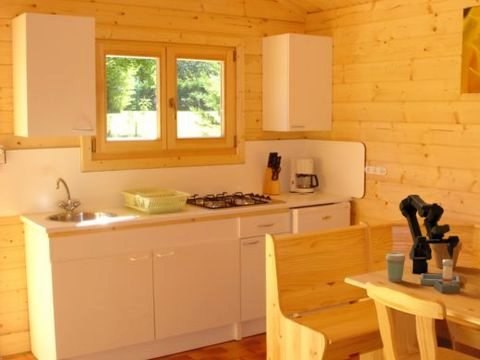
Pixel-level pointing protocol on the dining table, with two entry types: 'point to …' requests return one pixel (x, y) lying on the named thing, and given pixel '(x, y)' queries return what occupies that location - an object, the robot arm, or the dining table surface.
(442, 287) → the clip block
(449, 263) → the fuse
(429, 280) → the tray
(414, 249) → the robot arm
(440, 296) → the dining table surface
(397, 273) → the coffee cup
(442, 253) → the flower pot
